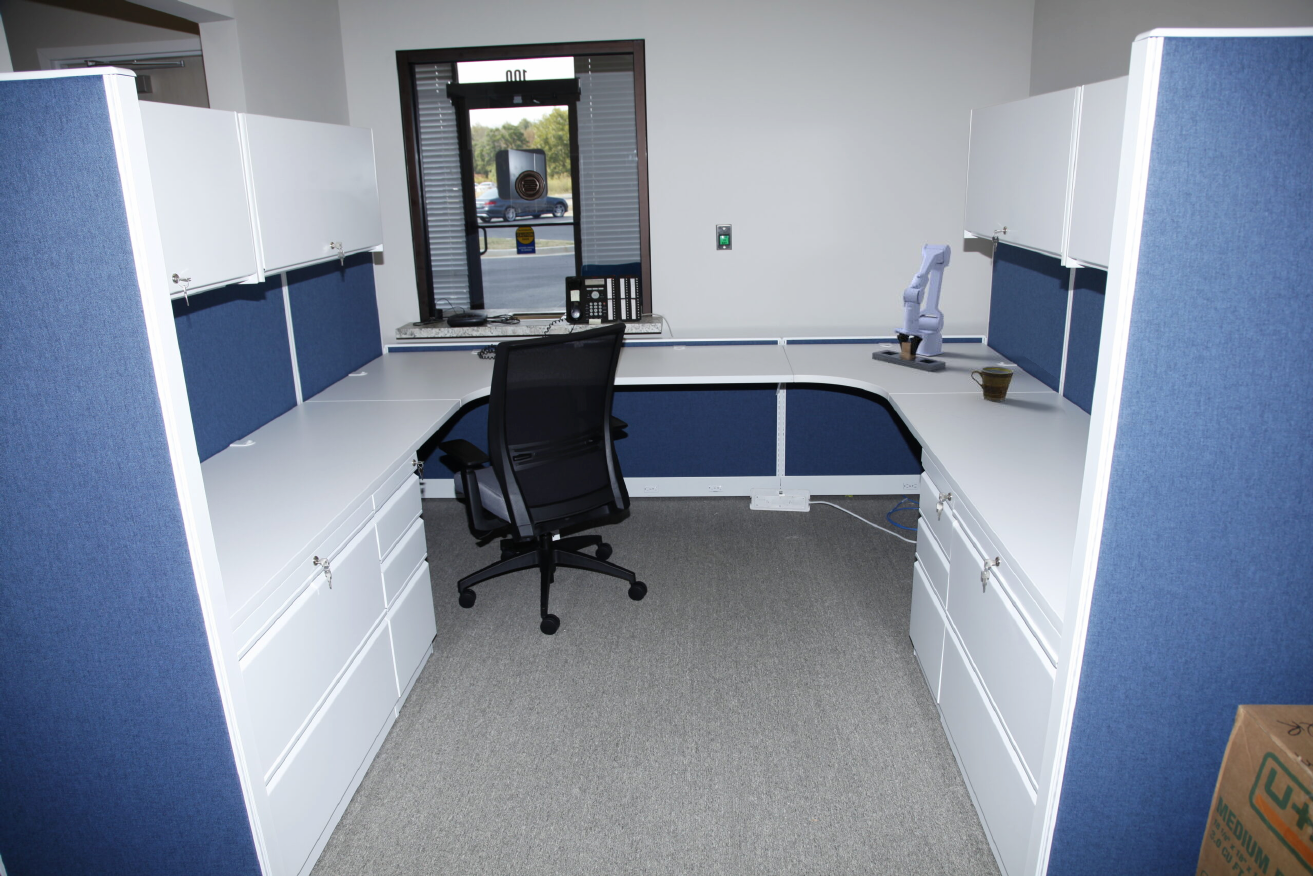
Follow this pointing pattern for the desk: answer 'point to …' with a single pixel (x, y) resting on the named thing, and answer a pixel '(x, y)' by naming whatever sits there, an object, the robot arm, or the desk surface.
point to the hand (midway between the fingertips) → (908, 353)
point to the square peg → (907, 350)
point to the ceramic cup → (994, 382)
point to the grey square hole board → (909, 361)
